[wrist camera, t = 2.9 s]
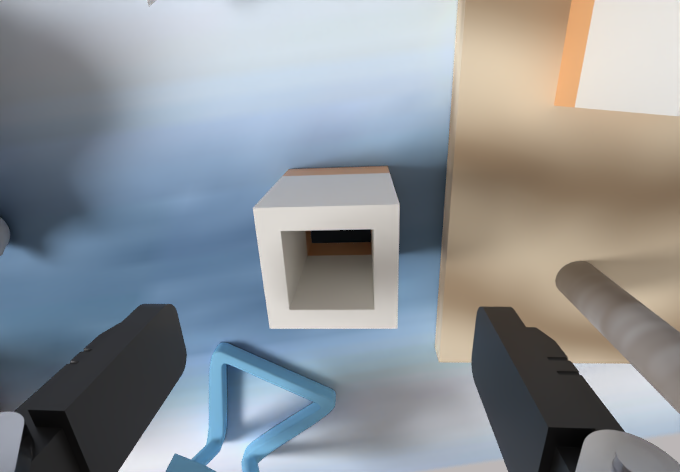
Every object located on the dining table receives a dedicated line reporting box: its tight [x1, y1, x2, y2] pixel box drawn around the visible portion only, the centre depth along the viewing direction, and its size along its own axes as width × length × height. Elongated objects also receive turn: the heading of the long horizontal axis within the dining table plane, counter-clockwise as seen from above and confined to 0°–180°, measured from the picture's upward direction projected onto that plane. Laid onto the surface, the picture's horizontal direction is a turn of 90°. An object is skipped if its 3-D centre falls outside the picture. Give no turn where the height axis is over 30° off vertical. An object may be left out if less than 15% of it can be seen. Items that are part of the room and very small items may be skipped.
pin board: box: [435, 0, 680, 413], centre depth 12 cm, size 20×12×8 cm, turn 3°
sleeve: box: [253, 166, 400, 329], centre depth 15 cm, size 5×5×6 cm
